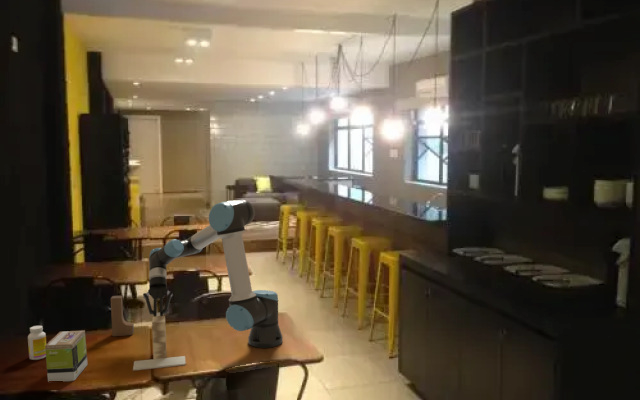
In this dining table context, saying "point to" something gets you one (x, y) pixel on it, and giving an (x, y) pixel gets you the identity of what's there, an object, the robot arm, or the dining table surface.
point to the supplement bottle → (36, 343)
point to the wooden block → (119, 318)
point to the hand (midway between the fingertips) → (158, 327)
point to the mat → (159, 363)
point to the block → (159, 337)
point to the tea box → (66, 356)
